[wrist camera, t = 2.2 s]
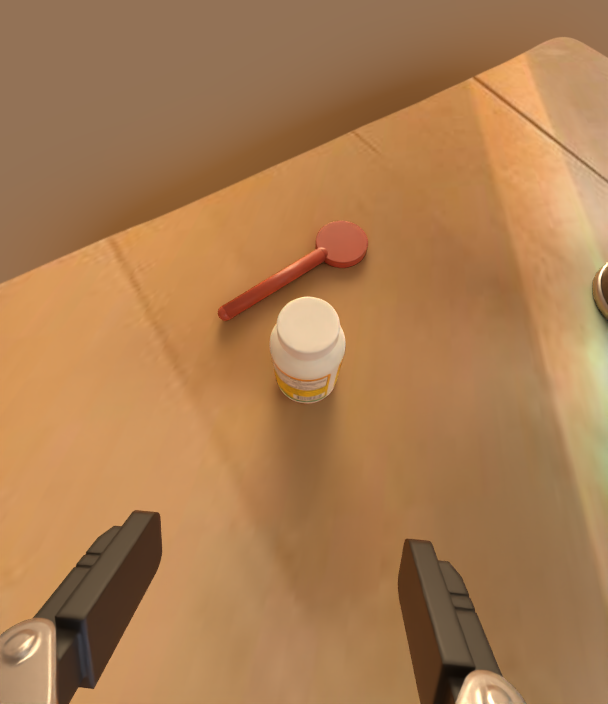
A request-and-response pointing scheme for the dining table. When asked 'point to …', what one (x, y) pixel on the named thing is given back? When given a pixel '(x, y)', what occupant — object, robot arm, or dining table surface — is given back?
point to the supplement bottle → (307, 349)
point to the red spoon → (307, 264)
